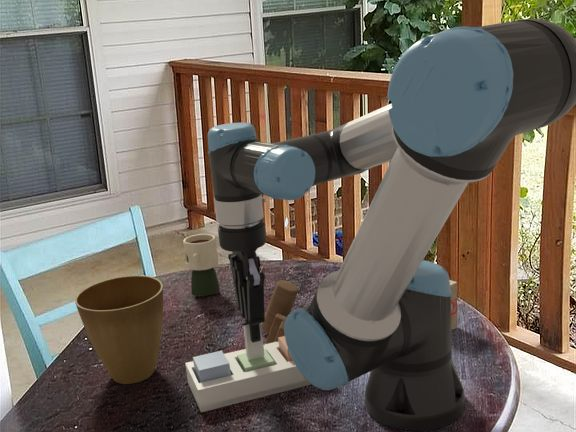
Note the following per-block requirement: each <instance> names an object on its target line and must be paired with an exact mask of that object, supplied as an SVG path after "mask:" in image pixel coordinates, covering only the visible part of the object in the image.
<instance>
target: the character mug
mask: <svg viewBox="0 0 576 432" xmlns="http://www.w3.org/2000/svg"><path fill="white" fill-rule="evenodd" d="M182 243H183V250H184V257H185V258H184V259H185V266H186V267H187V268H188V269H189V270H192V271H191V278H190V279H191V283H190V284H191V286H190V287H191V289H190V290H191V295H192V296H195V297H206V296H211V295H215V294H218V293H219V292H220V290H221V288H220V284H219V280H218V275H217V271H216V269H215V267H217V266H218V265H219V256H218V247H217V239H216V236H215V235H213V234H210V233H199V234H194V235H189V236H187V237H185V238H184V239H183V241H182Z"/></svg>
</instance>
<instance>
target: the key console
mask: <svg viewBox="0 0 576 432" xmlns="http://www.w3.org/2000/svg"><path fill="white" fill-rule="evenodd" d="M263 347H264V349H266V351H267V352H268V353H269V355H270V356H271V358H272V359H273V360H274V365H272V366H268V367H264V368H260V369H256V370H252V371H247V372H243V370H242V369H241V367H240V365H239V364H238V359H237V355H240V354H244V353H246V348H244V349H239V350H235V351H230V352H227V353H224V355H225V357H226V358H227V360H228V362H229V364H230V372H231V376H227V377H223V378H218V379H214V380H210V381H206V382H202V383H199V382H198V380H197V378H196V376H195V370H194V363H193V360H192V361H188V362H185V370H186V371H185V372H186V376H187V384H188V387H189V389H190V392H191V393H192V396H193V398H194V400H195V403H196V405H197V406H198V408H199V411H200V413H203V412H208V411H213V410H216V409H220V408H223V407H228V406H231V405H232V404H233V405H236V404H239V403H243V402H247V401H252V400H255V399H260V398H264V397H267V396H271V395H276V394H280V393H283V392H288V391H291V390H296V389H299V388H303V387H307V386H311V385H312V384H311V383H310V382H308V381H307V380H306V379H305V378H304V376H303V375H302V374H301V373H300V371H299V370H298V368H297V367H296V365H295V363H294V362H293V361H289V362H287V361H286V360H285V359H284V357H283V356H282V355H281V353H280V352H279V343H278V342H273V343H269V344H266V343H265V344H263Z"/></svg>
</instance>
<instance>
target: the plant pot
mask: <svg viewBox="0 0 576 432" xmlns="http://www.w3.org/2000/svg"><path fill="white" fill-rule="evenodd" d="M74 303H75V306H76V309H77V311H78V314H79V317H80V319H81V323H82V324H83V325H82V326H83V327H84V329H85V332H86V334H87V336H88V339H89V340H90V341H89V342H91V345H92V347H93V349H94V351H95V352H96V355H97V356H98V358H99V360H100V361H101V363H102V364H103V366H104V368H105V370H106V371H107V372H108V374H109V375H110V377H111V378H112V379H113V381H114V382H116V383H118V384H122V385H130V384H131V385H132V384H136V383H140V382H143V381H145V380H147V379H148V378H150V377H151V376H152V375H153V374H154V372H155V369H156V365H157V361H158V356H159V353H160V352H159V351H160V346H161V337H162V330H163V319H164V317H163V316H164V286H163V282H162V281H161V280H159V279H158V278H156V277H153V276H148V275H141V274H140V275H139V274H137V275H136V274H135V275H134V274H133V275H125V276H117V277H113V278H108V279H104V280H102V281H99V282H95V283H93V284H91V285H90V286H87V287H85V288H84V289H82V290H81V291H80V292H79V293H78V294H76V297H75V299H74Z"/></svg>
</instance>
